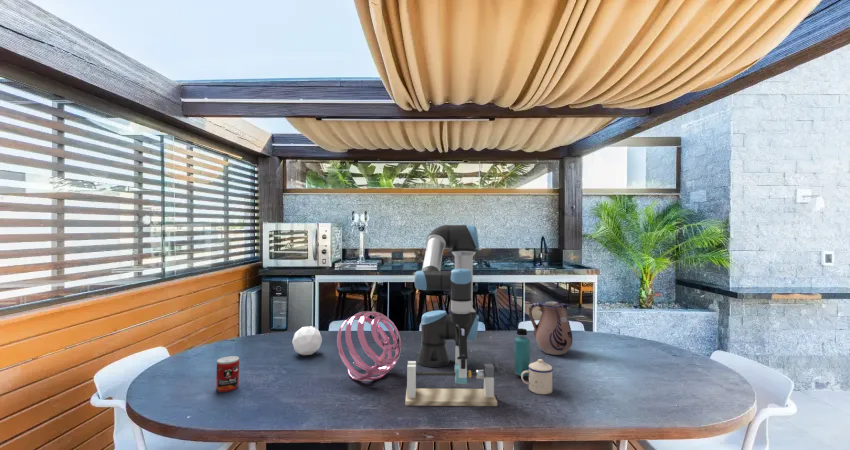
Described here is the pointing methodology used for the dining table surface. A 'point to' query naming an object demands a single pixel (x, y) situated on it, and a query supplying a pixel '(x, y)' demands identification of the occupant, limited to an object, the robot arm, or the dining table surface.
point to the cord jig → (450, 390)
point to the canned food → (227, 373)
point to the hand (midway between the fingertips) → (460, 370)
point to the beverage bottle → (522, 353)
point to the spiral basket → (384, 345)
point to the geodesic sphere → (307, 340)
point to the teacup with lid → (539, 377)
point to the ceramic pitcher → (552, 328)
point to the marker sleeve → (457, 379)
